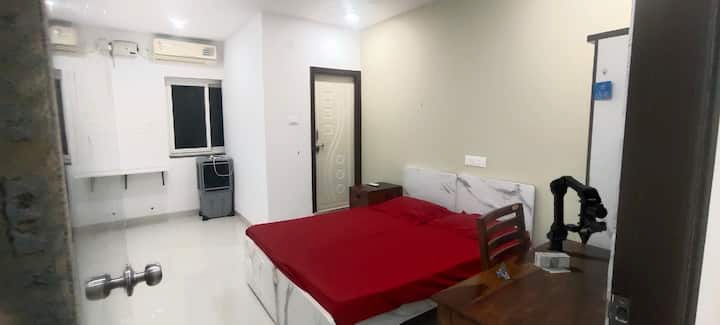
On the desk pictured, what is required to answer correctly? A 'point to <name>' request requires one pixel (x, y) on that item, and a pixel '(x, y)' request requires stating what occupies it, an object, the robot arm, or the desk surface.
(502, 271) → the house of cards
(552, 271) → the mat
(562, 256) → the syrup box
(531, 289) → the desk surface
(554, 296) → the desk surface
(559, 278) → the desk surface
